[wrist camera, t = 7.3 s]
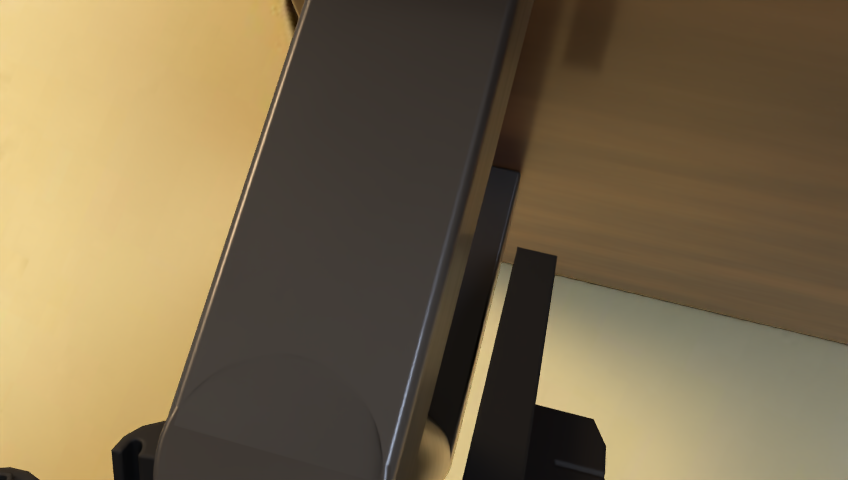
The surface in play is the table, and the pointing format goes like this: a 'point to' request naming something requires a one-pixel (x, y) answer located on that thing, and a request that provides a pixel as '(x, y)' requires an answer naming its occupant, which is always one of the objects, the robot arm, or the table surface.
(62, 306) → the table surface
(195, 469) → the cupboard door
